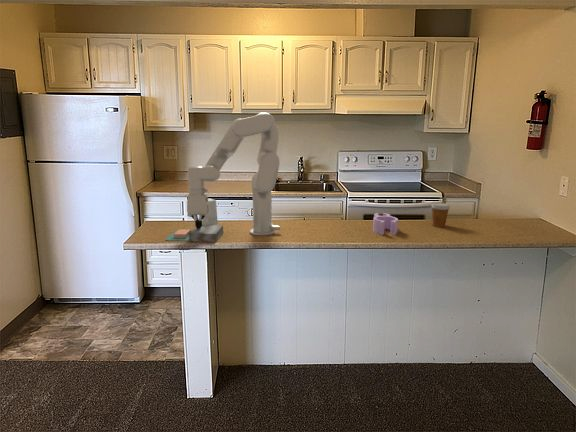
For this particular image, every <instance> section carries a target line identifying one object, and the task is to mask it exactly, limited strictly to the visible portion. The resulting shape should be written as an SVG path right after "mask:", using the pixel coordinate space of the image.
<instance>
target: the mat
mask: <svg viewBox="0 0 576 432" xmlns="http://www.w3.org/2000/svg"><path fill="white" fill-rule="evenodd" d="M177 231H178V230H177ZM177 231H174V232H173V233H171V234H170V235H169V236H168V237H167V238H166V239H165V240H167V241H168V242H169V241H171V242H172V241H173V242H174V241H175V242H190V241H189V236H188V237H187V238H174V233H176V232H177Z"/></svg>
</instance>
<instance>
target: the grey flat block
mask: <svg viewBox="0 0 576 432" xmlns="http://www.w3.org/2000/svg"><path fill="white" fill-rule="evenodd" d="M223 234H224V225H220V224H218V225H203V224H202V227H201V228H200V229H196V226H195V227H194V228H193V229H191V232H190V233H189V241H188V242H206V243H207V242H208V243H211V242H213V243H216V242H217V241H218V240H219V239H220V237H221V236H222V235H223Z"/></svg>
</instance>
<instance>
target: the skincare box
mask: <svg viewBox="0 0 576 432" xmlns="http://www.w3.org/2000/svg"><path fill="white" fill-rule="evenodd" d="M207 198H208V204H209V212H208V213H209V216H208V217H204V218H203V219H202V225H219V223H218V222H219V221H218V211H217V210H218V209H217V200H216V199H213V198H209V197H207Z"/></svg>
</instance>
